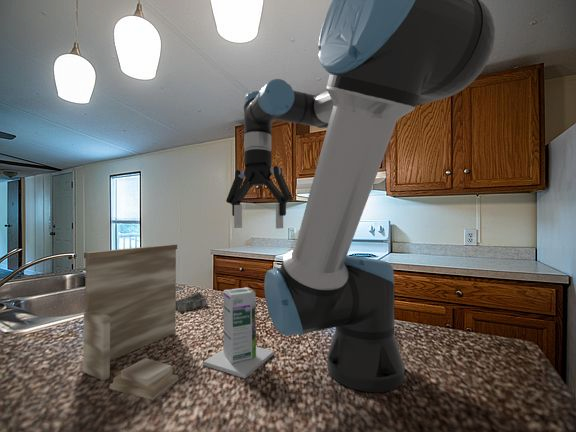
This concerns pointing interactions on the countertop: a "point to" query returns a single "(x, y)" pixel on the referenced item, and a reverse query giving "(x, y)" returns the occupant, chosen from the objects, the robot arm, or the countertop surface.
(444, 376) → the countertop surface
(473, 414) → the countertop surface
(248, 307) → the syrup box
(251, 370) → the mat
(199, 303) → the egg carton
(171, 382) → the offcut stack
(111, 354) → the wood grain panel
